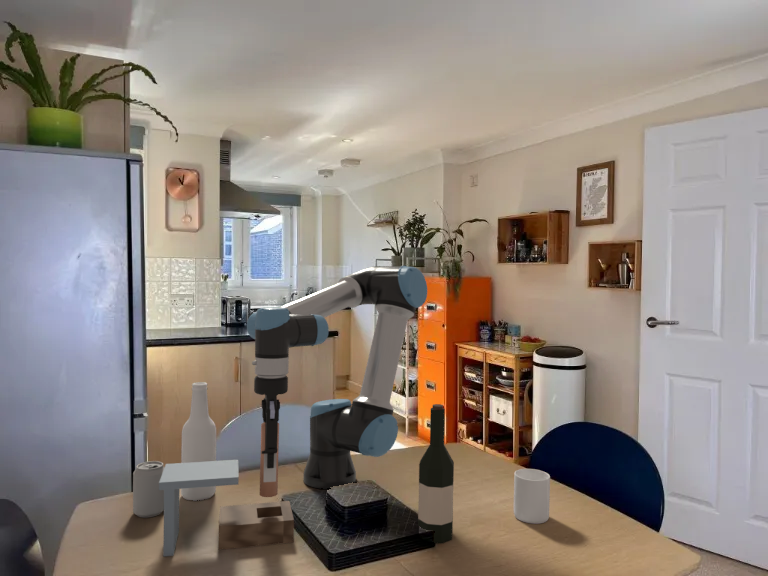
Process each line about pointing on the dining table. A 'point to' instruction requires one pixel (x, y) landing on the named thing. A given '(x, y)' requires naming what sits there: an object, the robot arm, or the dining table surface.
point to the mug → (531, 495)
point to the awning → (190, 477)
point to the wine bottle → (436, 482)
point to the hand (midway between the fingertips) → (269, 477)
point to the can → (148, 489)
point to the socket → (255, 525)
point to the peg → (265, 487)
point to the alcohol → (198, 439)
